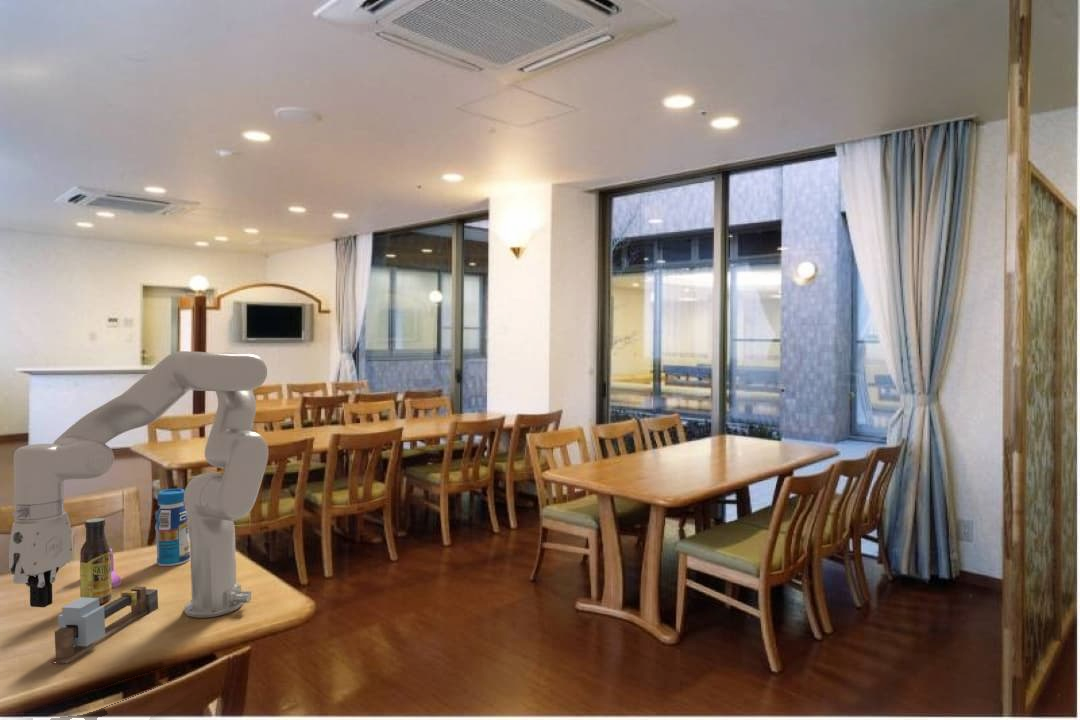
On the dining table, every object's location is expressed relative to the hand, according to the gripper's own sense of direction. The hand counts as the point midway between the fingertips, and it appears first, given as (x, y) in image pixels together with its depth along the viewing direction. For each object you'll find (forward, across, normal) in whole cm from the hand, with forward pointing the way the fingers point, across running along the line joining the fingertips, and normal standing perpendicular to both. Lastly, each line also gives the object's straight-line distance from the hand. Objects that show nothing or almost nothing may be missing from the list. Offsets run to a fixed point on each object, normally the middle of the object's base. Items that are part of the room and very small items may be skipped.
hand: (41, 605), depth 128 cm
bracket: (+13, +44, +22) cm, 51 cm away
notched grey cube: (+11, +9, 0) cm, 14 cm away
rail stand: (+13, +17, 0) cm, 21 cm away
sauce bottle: (+13, +31, +15) cm, 37 cm away
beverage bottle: (+12, +58, +14) cm, 61 cm away
